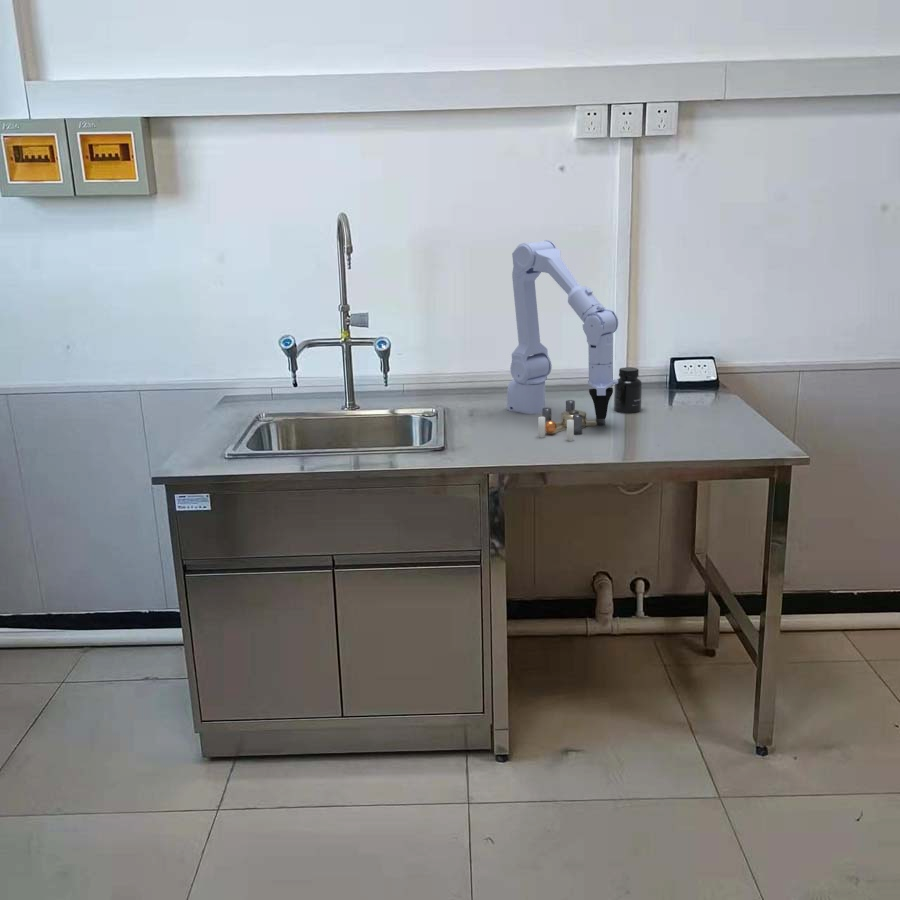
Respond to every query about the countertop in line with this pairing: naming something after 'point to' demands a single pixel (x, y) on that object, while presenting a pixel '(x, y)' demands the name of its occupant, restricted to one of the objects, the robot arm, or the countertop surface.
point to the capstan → (569, 414)
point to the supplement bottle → (628, 391)
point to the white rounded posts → (569, 428)
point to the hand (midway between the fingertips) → (601, 418)
